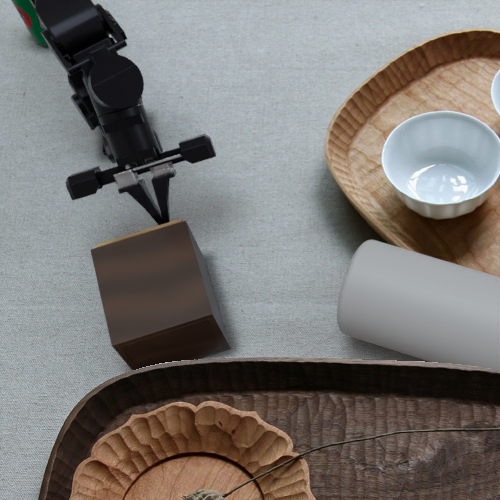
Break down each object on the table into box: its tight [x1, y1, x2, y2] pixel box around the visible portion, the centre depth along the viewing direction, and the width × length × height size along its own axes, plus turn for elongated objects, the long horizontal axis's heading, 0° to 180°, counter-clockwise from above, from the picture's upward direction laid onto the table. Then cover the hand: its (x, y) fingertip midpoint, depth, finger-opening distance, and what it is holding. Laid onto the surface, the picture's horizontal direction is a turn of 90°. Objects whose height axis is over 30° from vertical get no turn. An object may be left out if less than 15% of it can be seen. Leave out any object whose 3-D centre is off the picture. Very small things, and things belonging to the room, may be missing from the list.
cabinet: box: [90, 220, 232, 371], centre depth 105 cm, size 15×13×10 cm
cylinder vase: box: [336, 239, 500, 373], centre depth 101 cm, size 12×12×25 cm
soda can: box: [10, 0, 49, 47], centre depth 125 cm, size 5×5×12 cm
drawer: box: [95, 218, 183, 248], centre depth 106 cm, size 15×11×8 cm
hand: (167, 231), depth 107 cm, fingers closed, pressing on drawer
